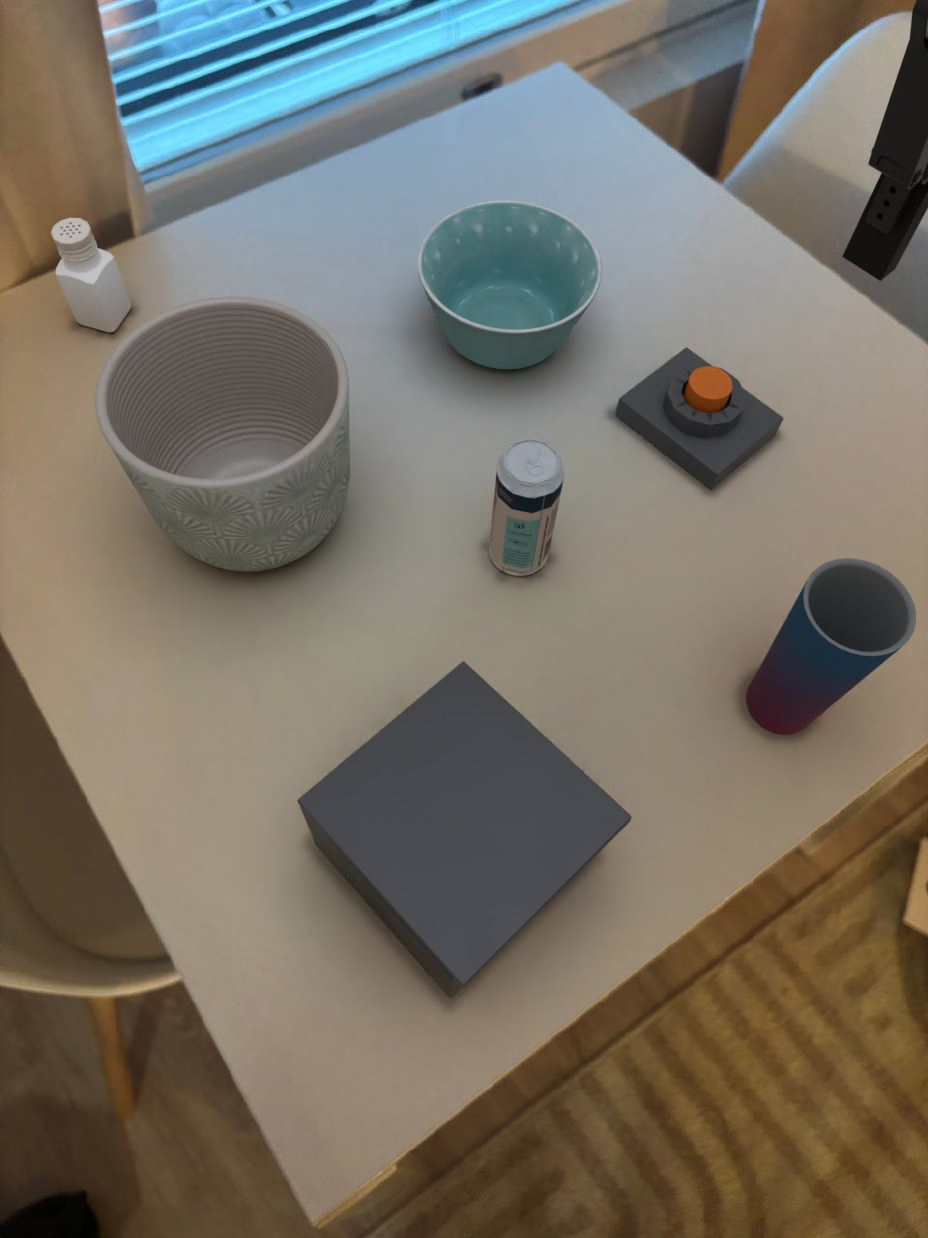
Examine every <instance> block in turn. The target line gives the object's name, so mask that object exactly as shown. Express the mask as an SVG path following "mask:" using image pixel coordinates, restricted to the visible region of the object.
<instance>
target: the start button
mask: <svg viewBox="0 0 928 1238" xmlns="http://www.w3.org/2000/svg"><path fill="white" fill-rule="evenodd" d="M716 367H717V366H714V367H710V366H705V367H700V368H698V369H696V370H694V371H693V372H692V373H691V375H690V378H689V381H688V383H687V386H686V389H685V393H684V395H685V399H686V401H687V403H688V404H689V405H690V406H691V407H692V408H694V409H695V410H697V411H701V412H705V413H714V412H718V411H720V410H721V409H722V408H724V406H725V405H726V403H727V400H728V398H729V395H730V393H731V390H732V380H731V378H730V377H729V375H728V374H727V373H725V372H724V371H723V370H721V369H718V368H719V367H718V368H716Z"/></svg>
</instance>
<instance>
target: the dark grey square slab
mask: <svg viewBox="0 0 928 1238" xmlns="http://www.w3.org/2000/svg"><path fill="white" fill-rule="evenodd" d="M297 803H298V805H299V807H300V806H301V807H302V809H303V810H304V811H305V812H306V813H307V814H308V815H309V816H310V817H311V819H312V820H313V821H314V822H315V823H316V824H317V825H318V826H319V828H320V829H321V830H322V831H323V832H324V833H325V834H326V835H327V837H328V838H329V839H330V840H331V841H332V842H333V843H334V844H335V845H336V847H337V848H338V849H339V850H340V851H341V852H342V853H343V854H344V856H345V857H346V858H347V859H348V860H349V861H350V862H351V863H352V865H353V866H354V867H355V868H356V869H357V870H358V871H359V872H360V873H361V875H362V876H363V877H364V878H365V879H366V880H367V881H368V882H369V884H370V885H371V886H372V887H373V888H374V889H375V890H376V891H377V893H378V894H379V895H380V896H381V897H382V898H383V899H384V900H385V901H386V903H387V904H388V905H389V906H390V907H391V908H392V909H393V910H394V912H395V913H396V914H397V915H398V916H399V917H400V918H401V919H402V921H403V922H404V923H405V924H406V925H407V926H408V927H409V928H410V929H411V931H412V932H413V933H414V934H415V935H416V936H417V937H418V938H419V940H420V941H421V942H422V943H423V944H424V945H425V946H426V947H427V949H428V950H429V951H430V952H431V953H432V954H433V955H434V956H435V957H436V959H437V960H438V961H439V962H440V963H441V964H442V965H443V966H444V968H445V969H446V970H447V971H448V972H449V973H450V974H451V975H452V977H453V978H454V979H455V980H456V981H457V982H458V983H459V984H460V985H461V987H462V988H463V989H464V988H466V986H468V985H469V984H470V982H472V981H473V980H474V978H476V977H477V975H478V974H480V972H481V971H483V970H484V968H485V967H487V966H488V964H490V963H491V961H492V960H494V959H495V957H497V956H498V954H499V953H500V952H502V951H503V950H504V948H505V947H506V946H508V944H509V943H511V942H512V940H514V939H515V938H516V936H518V935H519V934H520V933H521V931H523V930H524V928H525V927H527V925H529V923H530V922H532V920H533V919H535V918H536V916H537V915H538V914H539V913H541V911H543V909H545V907H546V906H548V904H550V903H551V901H553V899H554V898H556V897H557V895H558V894H560V893H561V892H562V890H564V888H566V887H567V885H569V884H570V882H571V881H572V880H573V879H574V878H575V877H576V876H577V875H578V874H580V873H581V872H582V871H583V869H584V868H586V866H587V865H588V864H590V863H591V861H592V860H593V859H594V858H595V857H596V856H598V854H599V853H600V852H601V851H602V850H603V849H604V848H606V847H607V845H608V844H610V842H611V841H612V840H614V838H615V837H616V836H617V835H619V833H621V831H622V830H624V829H625V828H626V826H627V825H628V824H629V823H630V822H631V820H632V818H633V816H632V815H631V813H629V812H628V811H627V810H626V809H625V808H623V806H621V805H620V804H619V803H618V802H617V801H616V800H615V799H614V798H613V797H612V796H610V795H609V794H608V793H607V792H606V791H605V790H604V789H603V788H602V787H601V786H599V785H598V783H596V781H594V780H593V779H592V778H591V777H590V776H589V775H588V774H587V773H586V772H584V771H583V770H582V769H581V768H580V767H579V766H578V765H577V764H576V763H574V761H573V760H571V759H570V757H568V755H566V754H565V753H564V752H563V751H562V750H561V749H560V748H558V746H557V745H556V744H554V743H553V742H552V741H551V740H549V738H548V737H547V736H546V735H544V733H543V732H541V731H540V730H539V729H538V728H537V727H536V726H535V725H534V724H533V723H532V722H530V720H528V719H527V718H526V717H525V716H524V715H523V714H521V713H520V712H519V711H518V710H517V709H516V708H515V707H514V706H513V705H512V704H511V703H510V702H509V701H508V700H506V698H505V697H503V696H502V695H501V694H500V693H499V692H498V691H497V690H496V689H495V688H494V687H492V686H491V685H490V683H488V682H487V681H486V680H485V679H484V678H483V677H482V676H481V675H479V674H478V673H477V672H476V671H475V670H474V669H473V668H472V667H471V666H470V665H469V664H468V663H467V662H465V661H464V660H463V661H461V662H460V663H459V664H458V665H457V666H455V667H454V668H452V670H451V671H449V673H447V674H445V676H443V678H441V679H440V680H439V681H438V682H436V683H435V684H433V686H432V687H430V688H429V689H428V690H427V691H426V692H424V693H423V694H422V695H420V696H419V697H418V698H417V699H416V700H414V701H413V702H412V703H411V704H410V705H409V706H408V707H406V708H405V709H404V710H403V711H402V712H400V713H399V714H398V715H397V716H395V718H393V719H392V720H391V721H390V722H389V723H387V724H386V725H385V726H384V727H383V728H381V729H380V730H379V731H377V732H376V733H375V734H374V735H373V736H372V737H371V738H370V739H367V741H366V742H365V743H364V744H362V745H361V746H360V747H359V748H357V749H356V750H355V751H354V752H353V753H351V754H349V756H348V757H346V758H345V759H344V760H343V761H342V762H340V764H339V765H337V766H336V767H335V768H333V769H332V770H331V771H329V773H327V774H326V775H325V776H324V777H323V778H322V779H320V780H319V781H318V782H317V783H315V784H314V785H312V787H311V788H310V789H308V790H307V791H305V793H303V795H301V796H300V797H299V798H297ZM462 988H461V989H462Z"/></svg>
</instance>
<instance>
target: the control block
mask: <svg viewBox="0 0 928 1238" xmlns="http://www.w3.org/2000/svg"><path fill="white" fill-rule="evenodd" d="M705 366H710V367H716V368H718V369H721V370H723V371H724V372H725V373H727V374H728V375H729V377H730V378H731V380H732V390H731V393H730V395H729V398H728V400H727V403H726V405H725V406H724V408H722V409H721V410H720V411H718V412H714V413H705V412H701V411H697V410H695V409H694V408H692V407H691V406H690V405H689V404H688V403H687V401H686V399H685V395H684V393H685V389H686V386H687V383H688V381H689V378H690V375H691V373H692V372H693V371H694V370H696V369H698V368H700V367H705ZM614 415H615V416H616V417H617V418H618V419H619V420H621V421H622V422H623V423H624V424H626V425H627V426H628V427H630V428H631V429H632V430H634V431H635V432H636V433H637V434H639V435H640V436H641V437H643V438H644V439H645V440H646V441H647V442H649V443H650V444H651V445H652V446H654V447H655V448H656V449H658V450H659V451H660V452H662V453H663V454H664V455H665V456H667V457H668V458H669V459H670V460H672V461H673V462H675V464H677V465H678V466H679V467H681V468H682V469H683V470H684V471H686V472H687V473H688V474H689V475H691V476H692V477H693V478H694V479H696V480H697V481H698V482H700V483H701V484H702V485H703V486H705V487H706V488H708V490H710V491H711V490H713V489H714V488H716V486H718V485H719V484H720V483H721V482H722V481H724V479H726V478H727V477H728V476H729V475H731V474H732V473H733V472H734V471H736V469H738V468H739V467H740V466H741V465H742V464H743V463H745V461H747V460H748V459H749V458H750V457H752V456H753V455H754V454H755V453H756V452H757V451H758V450H759V449H761V448H762V447H764V445H766V444H767V443H768V442H769V441H770V440H772V439H773V438H774V437H775V436H776V435H777V433H778V431H779V429H780V427H781V425H782V423H783V422H784V417H783V416H782V415H780V414H779V413H778V412H777V411H775V410H774V409H772V408H771V407H770V406H768V405H767V404H766V403H764V402H763V401H761V400H760V399H758V397H756V396H755V395H753V394H752V393H751V392H749V391H748V390H746V389H745V388H743V386H742V384H741V382H740V381H739V379H738V378H737V377H735V376H733V374H731V373H730V372H728V371H727V370H725V369H724V368H721V367H718V366H713V365H712V364H710V363H709V362H708V361H706V359H704V358H702V357H701V356H700V355H699V354H697V353H695V352H694V351H693V350H691V349H690V348H689V347H687V346H686V347H684V348H683V349H682V350H680V351H679V352H678V353H676V354H675V355H674V356H673V357H671V358H670V359H669V360H668V361H666V362H664V364H662V365H661V366H659V367H658V368H657V369H656V370H655V371H653V372H652V373H650V374H649V375H648V376H646V377H645V378H644V379H642V381H640V382H639V383H637V384H636V385H635V386H634V387H632V388H631V389H629V390H628V391H627V392H626V393H624V394H622V396H620V397H619V398H618V402H617V406H616V410H615V413H614Z"/></svg>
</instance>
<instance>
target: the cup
mask: <svg viewBox="0 0 928 1238" xmlns="http://www.w3.org/2000/svg"><path fill="white" fill-rule="evenodd" d="M916 624H917V612H916V606H915V603H914V601H913V598H912V596H911V594H910V593H909V591H908V589H907V588H906V586H905V585H904V584H903V583H902V582H901V581H900V580H899V579H898V577H896V576H895V575H894V574H892V573H891V572H890V571H888V570H887V569H885V568H883V567H882V566H880V565H878V564H875V563H874V562H870V561H868V560H863V559H859V558H849V557H846V558H845V557H844V558H837V559H833V560H829V561H826V562H824V563H823V564H821V565H819V566H817V568H816V569H815V570H813V571H812V572H811V573H810V574H809V577H808V578H807V579H806V581H805V583H804V585H803V586H802V588H801V590H800V592H799V594H798V596H797V598H796V599H795V601H794V603H793V605H792V607H791V609H790V611H789V612H788V614H787V615H786V618H785V619H784V621H783V623H782V625H781V627H780V629H779V631H778V632H777V634H776V636H775V638H774V639H773V641H772V643H771V645H770V646H769V649H768V651H767V653H766V655H765V656H764V658H763V660H762V662H761V663H760V665H759V667H758V668H757V671H756V673H755V675H754V677H753V678H752V680H751V682H750V684H749V685H748V688H747V690H746V695H745V696H746V697H745V699H746V700H745V701H746V706H747V709H748V712H749V713H750V716H751V717H752V718H753V720H754V721H755V722H756V723H757V724H758V725H759V726H760V727H762V728H764V729H765V730H767V731H769V732H770V733H774V734H778V735H787V736H788V735H794V734H797V733H799V732H801V731H803V730H804V729H806V728H807V727H808V726H809V725H810V724H812V723H813V722H814V721H815V720H816V719H818V718H819V717H820V716H821V715H823V714H824V713H825V712H826V711H827V710H828V709H830V708H831V707H832V706H833V705H834V704H836V703H837V702H838V701H839V700H840V699H842V698H843V697H844V696H845V695H846V694H848V693H849V692H851V691H852V690H853V688H855V687H856V686H857V685H858V684H860V683H861V682H862V681H864V680H865V679H866V678H867V677H868V676H869V675H871V674H872V673H873V672H874V671H876V669H877V668H879V667H881V665H883V663H885V662H886V661H887V660H889V659H890V658H891V657H892V656H893V655H895V653H897V652H898V651H899V650H901V648H903V647H904V646H905V645H906V644H907V643H908V642H909V640H910V639H911V637H912V636H913V634H914V632H915V628H916Z"/></svg>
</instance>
